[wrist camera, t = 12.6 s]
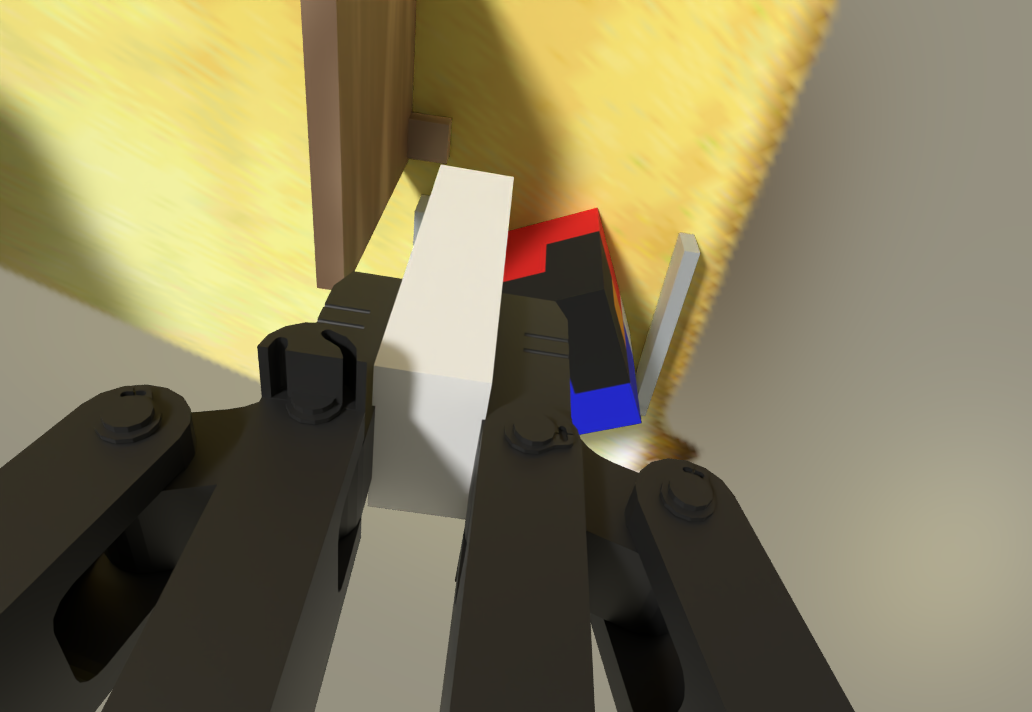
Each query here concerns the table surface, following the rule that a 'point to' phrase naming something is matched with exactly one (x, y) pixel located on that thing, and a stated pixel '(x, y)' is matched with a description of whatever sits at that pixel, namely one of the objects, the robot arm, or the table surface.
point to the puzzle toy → (580, 313)
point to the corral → (664, 312)
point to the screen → (360, 121)
